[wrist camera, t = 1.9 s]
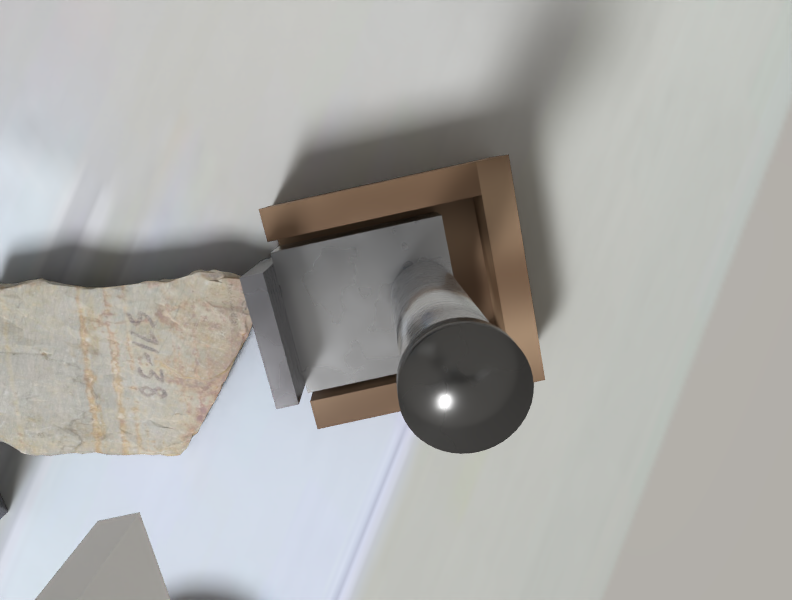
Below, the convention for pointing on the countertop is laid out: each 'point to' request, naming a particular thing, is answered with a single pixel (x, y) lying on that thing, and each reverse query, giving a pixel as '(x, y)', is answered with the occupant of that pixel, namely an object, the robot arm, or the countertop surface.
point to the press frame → (468, 249)
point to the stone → (116, 362)
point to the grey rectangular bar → (2, 508)
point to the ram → (389, 331)
